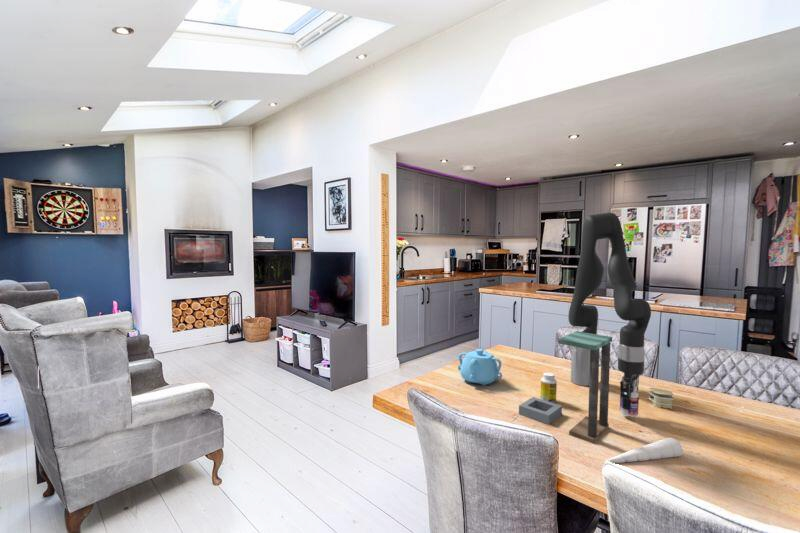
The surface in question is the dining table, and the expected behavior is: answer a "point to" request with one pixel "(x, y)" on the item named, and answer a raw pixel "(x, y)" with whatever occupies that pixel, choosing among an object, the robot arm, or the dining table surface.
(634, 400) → the pill bottle
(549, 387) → the supplement bottle
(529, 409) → the socket
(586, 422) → the green-topped post stand
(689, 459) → the dining table surface
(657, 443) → the unicorn horn
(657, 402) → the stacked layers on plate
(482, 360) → the decorative pot
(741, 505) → the dining table surface
